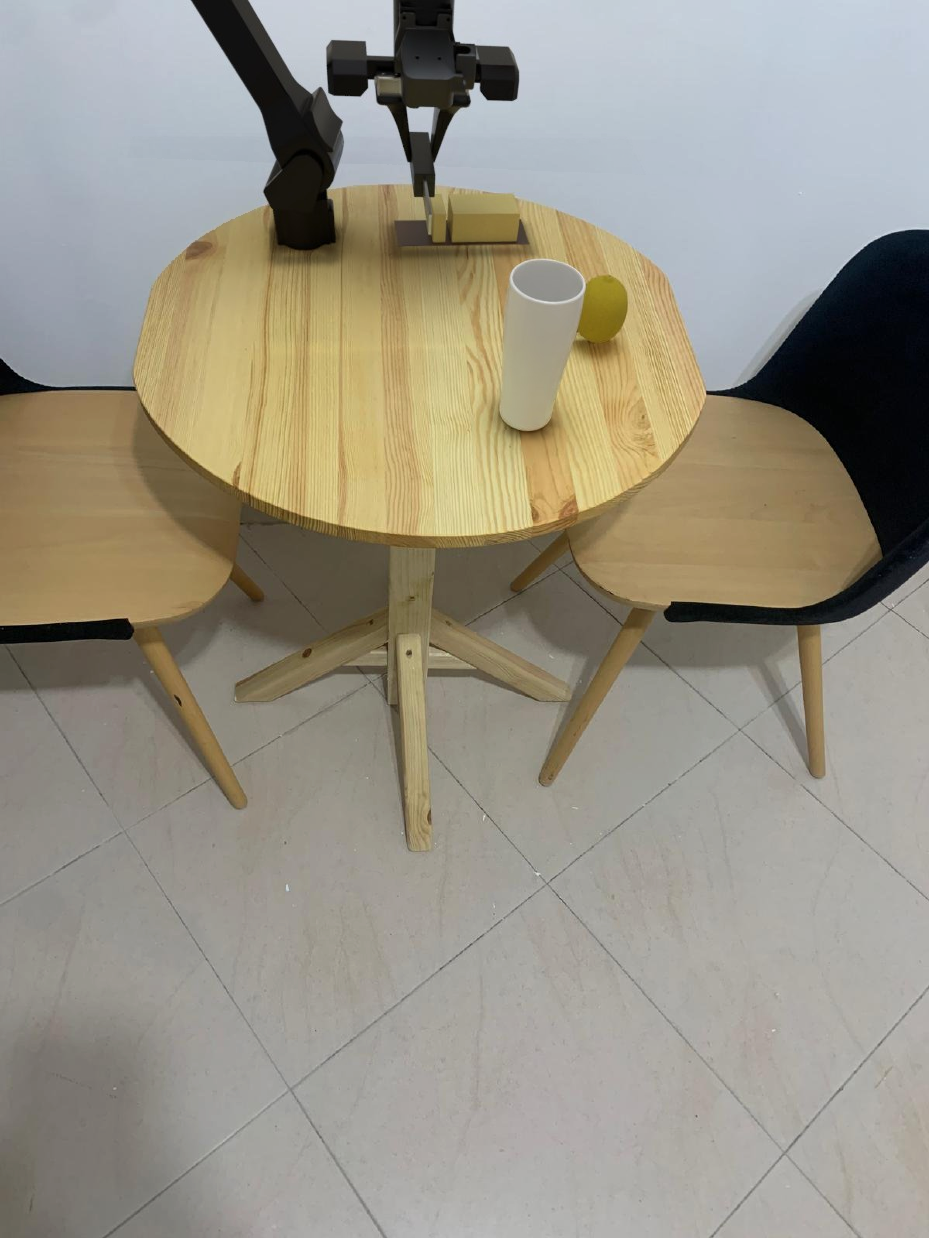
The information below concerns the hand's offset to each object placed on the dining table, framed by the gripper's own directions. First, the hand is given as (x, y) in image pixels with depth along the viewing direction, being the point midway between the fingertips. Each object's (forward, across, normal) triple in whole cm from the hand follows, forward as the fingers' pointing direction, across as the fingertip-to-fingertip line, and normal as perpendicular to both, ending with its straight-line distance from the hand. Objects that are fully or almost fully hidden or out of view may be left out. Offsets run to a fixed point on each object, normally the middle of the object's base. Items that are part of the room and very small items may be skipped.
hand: (420, 161), depth 83 cm
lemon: (+11, +18, -16) cm, 27 cm away
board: (+11, +6, +4) cm, 13 cm away
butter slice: (+10, +2, +4) cm, 11 cm away
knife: (+1, 0, -5) cm, 5 cm away
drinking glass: (+11, +9, -28) cm, 31 cm away
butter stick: (+10, +8, +4) cm, 13 cm away
